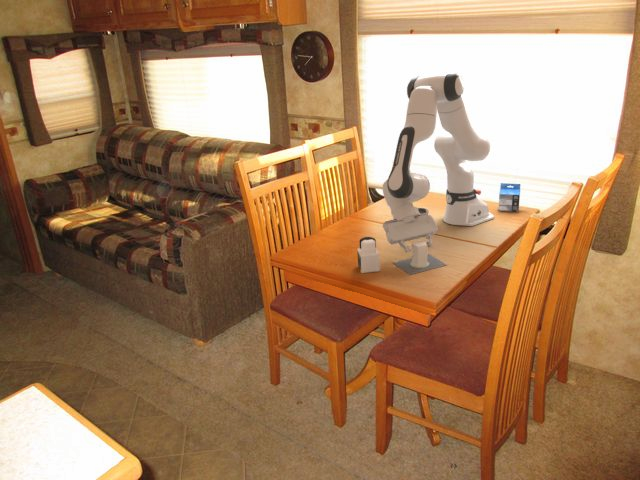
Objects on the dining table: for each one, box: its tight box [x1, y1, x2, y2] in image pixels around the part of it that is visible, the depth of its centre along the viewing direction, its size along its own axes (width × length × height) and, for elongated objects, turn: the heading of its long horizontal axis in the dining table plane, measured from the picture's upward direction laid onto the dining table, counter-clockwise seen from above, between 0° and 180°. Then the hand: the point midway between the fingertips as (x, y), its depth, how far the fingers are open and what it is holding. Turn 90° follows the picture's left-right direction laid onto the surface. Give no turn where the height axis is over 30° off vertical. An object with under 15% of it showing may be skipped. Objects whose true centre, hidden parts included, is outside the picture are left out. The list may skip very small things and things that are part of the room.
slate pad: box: [393, 253, 448, 275], centre depth 197 cm, size 16×12×1 cm
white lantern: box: [356, 236, 381, 274], centre depth 195 cm, size 7×7×12 cm
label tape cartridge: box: [497, 182, 521, 213], centre depth 242 cm, size 9×4×12 cm, turn 67°
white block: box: [411, 240, 428, 267], centre depth 196 cm, size 4×4×8 cm
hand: (419, 249), depth 195 cm, fingers open, 8 cm apart
